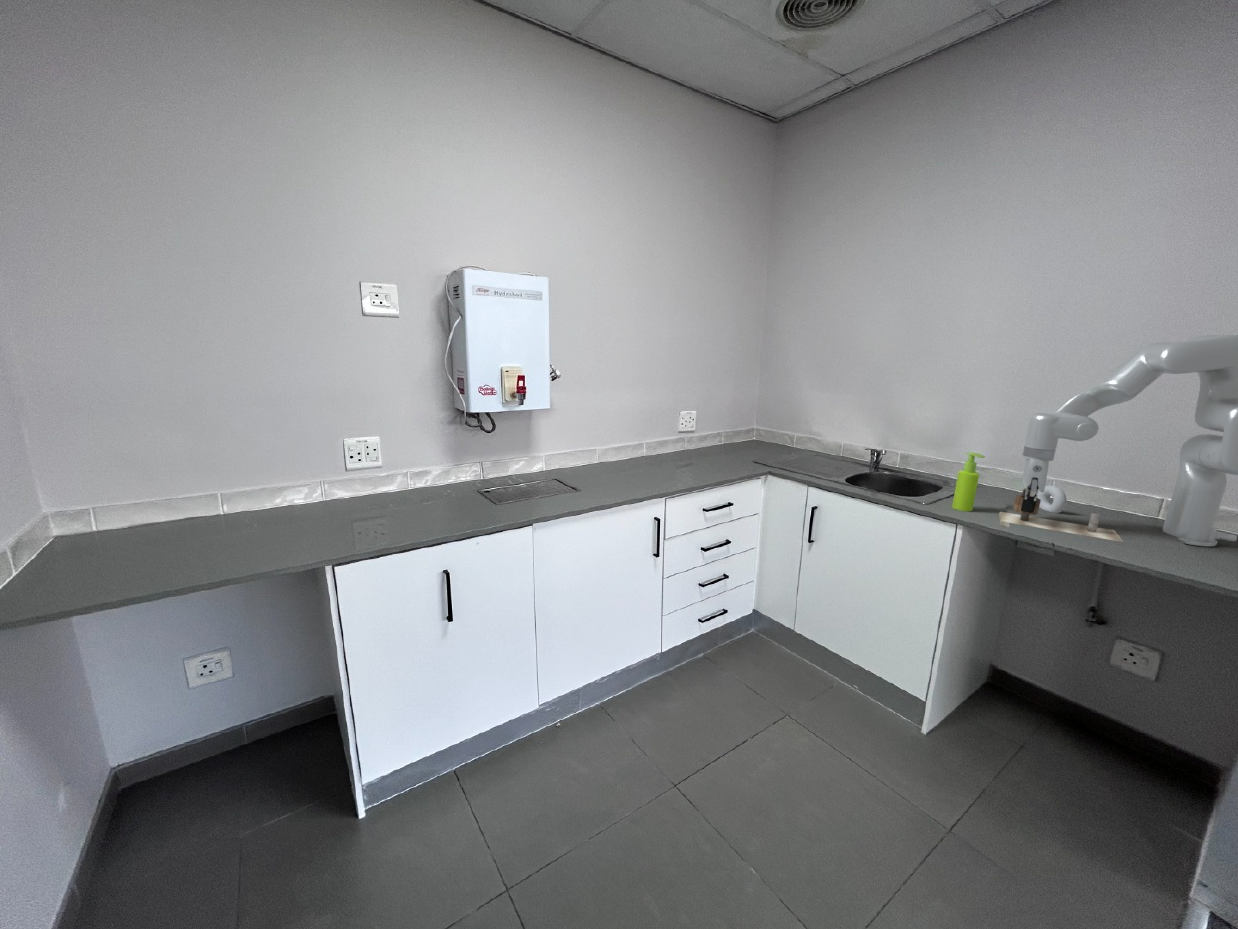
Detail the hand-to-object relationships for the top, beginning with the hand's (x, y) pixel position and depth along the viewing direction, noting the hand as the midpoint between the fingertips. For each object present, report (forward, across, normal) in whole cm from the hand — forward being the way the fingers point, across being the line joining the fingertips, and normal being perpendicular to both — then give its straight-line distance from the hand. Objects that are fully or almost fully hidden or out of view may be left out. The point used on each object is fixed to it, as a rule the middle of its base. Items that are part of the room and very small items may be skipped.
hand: (1026, 508), depth 158 cm
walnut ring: (+1, 0, 0) cm, 1 cm away
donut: (+5, +20, -8) cm, 22 cm away
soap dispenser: (+6, +7, +16) cm, 18 cm away
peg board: (+5, 0, -8) cm, 10 cm away
